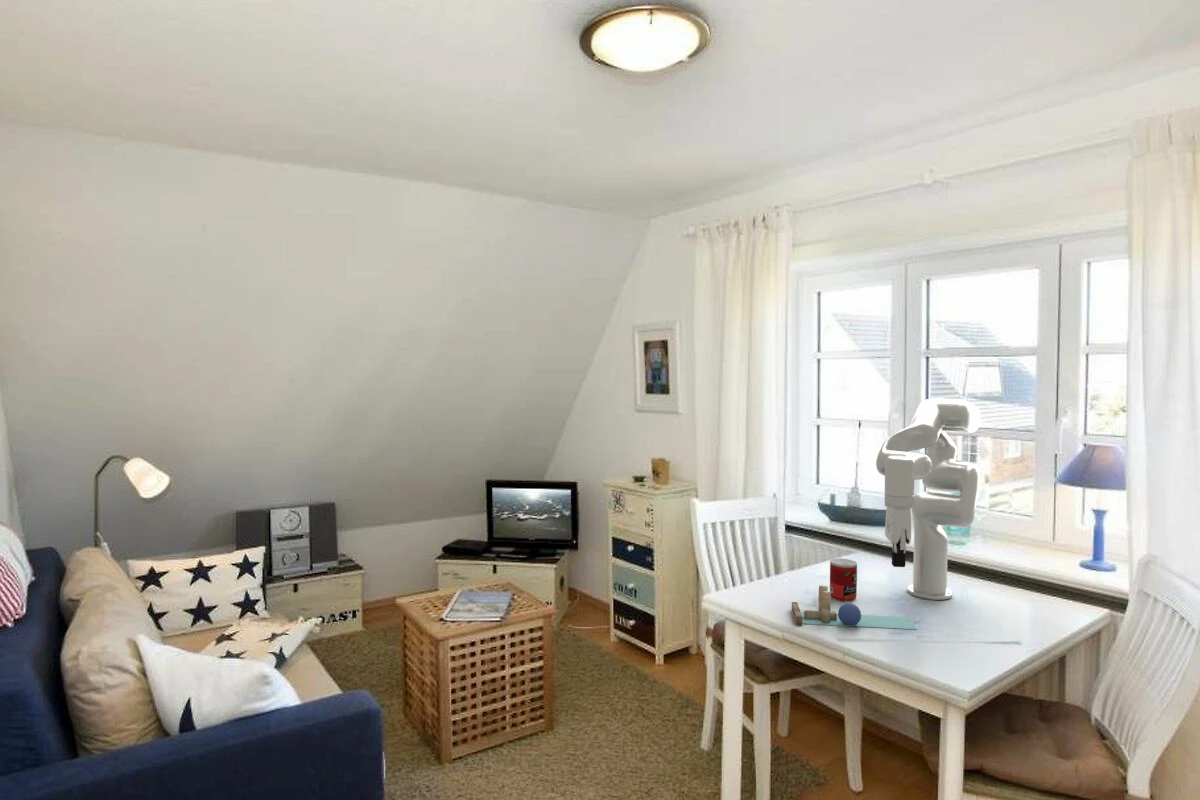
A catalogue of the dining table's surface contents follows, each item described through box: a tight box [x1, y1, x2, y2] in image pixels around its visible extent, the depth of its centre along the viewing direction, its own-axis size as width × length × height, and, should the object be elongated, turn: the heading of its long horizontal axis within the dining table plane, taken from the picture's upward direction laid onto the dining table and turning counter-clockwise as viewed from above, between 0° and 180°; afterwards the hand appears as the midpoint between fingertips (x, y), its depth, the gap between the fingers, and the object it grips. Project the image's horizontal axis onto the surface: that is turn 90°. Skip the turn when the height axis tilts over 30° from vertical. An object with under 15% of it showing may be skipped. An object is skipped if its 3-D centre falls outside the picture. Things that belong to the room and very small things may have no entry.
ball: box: [837, 602, 862, 627], centre depth 197 cm, size 6×6×6 cm
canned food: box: [829, 558, 858, 602], centre depth 220 cm, size 8×8×11 cm
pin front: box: [803, 609, 838, 620], centre depth 202 cm, size 2×2×8 cm
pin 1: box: [818, 584, 829, 611], centre depth 204 cm, size 2×2×8 cm
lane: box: [801, 611, 918, 631], centre depth 201 cm, size 9×30×1 cm, turn 81°
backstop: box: [791, 601, 803, 627], centre depth 203 cm, size 12×2×2 cm, turn 171°
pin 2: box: [821, 590, 832, 623], centre depth 199 cm, size 2×2×8 cm
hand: (898, 565), depth 199 cm, fingers closed
